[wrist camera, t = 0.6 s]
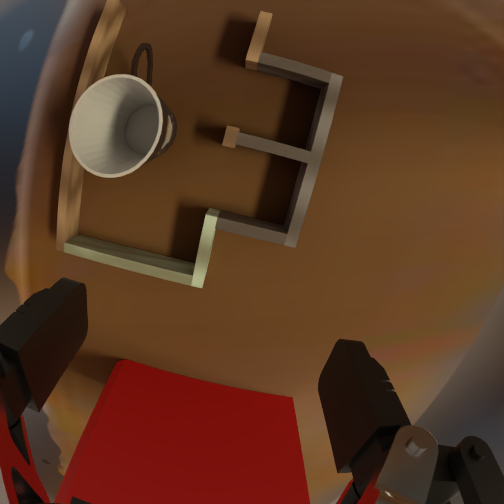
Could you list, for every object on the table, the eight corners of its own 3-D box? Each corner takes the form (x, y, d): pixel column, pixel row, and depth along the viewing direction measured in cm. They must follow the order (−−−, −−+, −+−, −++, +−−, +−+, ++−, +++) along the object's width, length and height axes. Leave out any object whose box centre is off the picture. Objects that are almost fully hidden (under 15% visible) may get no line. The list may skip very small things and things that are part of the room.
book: (292, 397, 43) (323, 593, 13) (275, 426, 46) (291, 598, 16) (117, 356, 40) (34, 546, 10) (116, 390, 43) (54, 558, 13)
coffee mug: (156, 182, 32) (122, 198, 23) (101, 141, 30) (53, 143, 21) (220, 98, 29) (210, 79, 20) (161, 58, 27) (130, 28, 18)
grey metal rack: (118, 9, 25) (107, -1, 21) (342, 47, 27) (352, 38, 24) (70, 240, 34) (56, 249, 31) (274, 290, 37) (276, 304, 34)
